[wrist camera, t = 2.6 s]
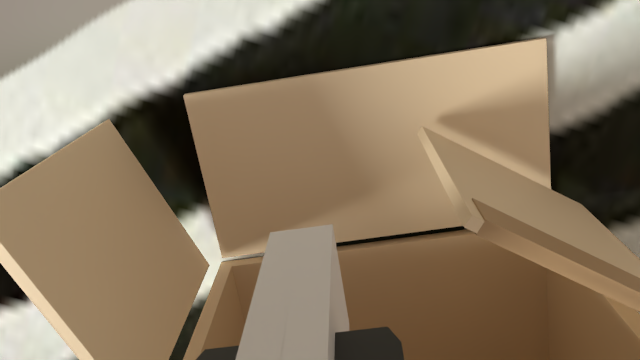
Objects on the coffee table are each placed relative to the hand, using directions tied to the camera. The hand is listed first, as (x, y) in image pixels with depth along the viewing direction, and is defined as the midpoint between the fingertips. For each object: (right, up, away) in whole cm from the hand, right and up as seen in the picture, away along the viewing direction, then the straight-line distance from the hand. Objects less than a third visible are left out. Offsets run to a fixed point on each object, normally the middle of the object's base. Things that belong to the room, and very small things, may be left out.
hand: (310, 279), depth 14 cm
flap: (+8, +3, +11) cm, 14 cm away
